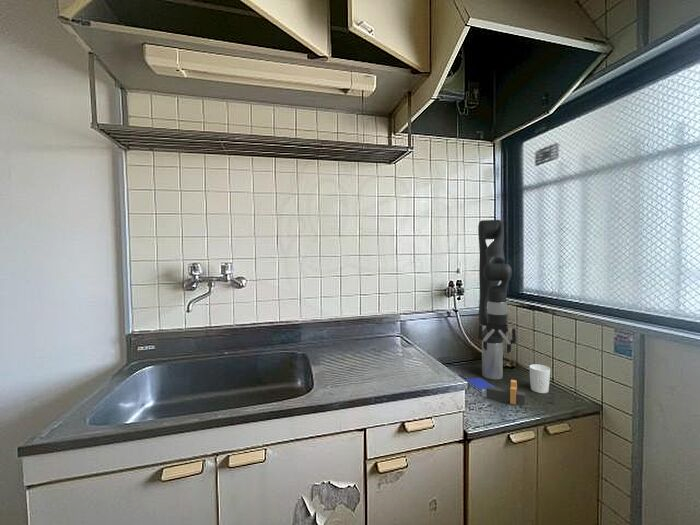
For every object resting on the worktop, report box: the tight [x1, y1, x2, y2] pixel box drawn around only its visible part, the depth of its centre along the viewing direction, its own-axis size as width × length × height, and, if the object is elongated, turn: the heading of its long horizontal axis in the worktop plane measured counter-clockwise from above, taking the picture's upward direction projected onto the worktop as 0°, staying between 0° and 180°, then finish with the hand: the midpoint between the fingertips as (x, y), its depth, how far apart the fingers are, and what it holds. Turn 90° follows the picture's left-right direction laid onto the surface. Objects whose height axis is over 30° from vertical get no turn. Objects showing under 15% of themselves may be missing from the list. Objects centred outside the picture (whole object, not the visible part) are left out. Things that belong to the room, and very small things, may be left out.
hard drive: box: [465, 377, 496, 393], centre depth 151 cm, size 2×8×12 cm
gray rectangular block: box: [481, 386, 526, 406], centre depth 137 cm, size 3×16×4 cm, turn 60°
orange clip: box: [509, 379, 518, 406], centre depth 135 cm, size 6×2×8 cm, turn 150°
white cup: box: [529, 363, 551, 394], centre depth 145 cm, size 8×8×10 cm
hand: (496, 351), depth 137 cm, fingers open, 8 cm apart
